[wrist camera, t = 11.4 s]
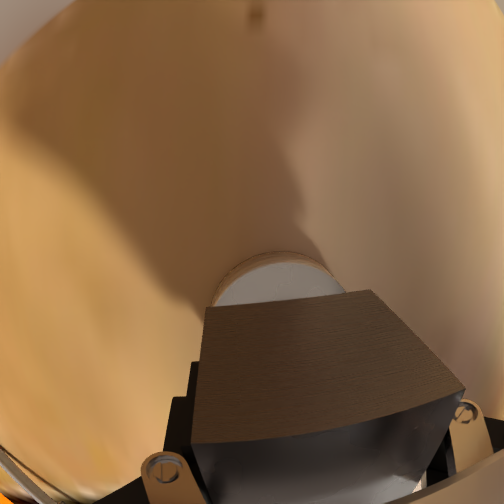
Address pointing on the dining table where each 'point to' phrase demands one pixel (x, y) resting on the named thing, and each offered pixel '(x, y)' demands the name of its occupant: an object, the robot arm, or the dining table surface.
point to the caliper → (24, 480)
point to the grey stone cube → (317, 402)
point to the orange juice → (4, 500)
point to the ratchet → (275, 280)
